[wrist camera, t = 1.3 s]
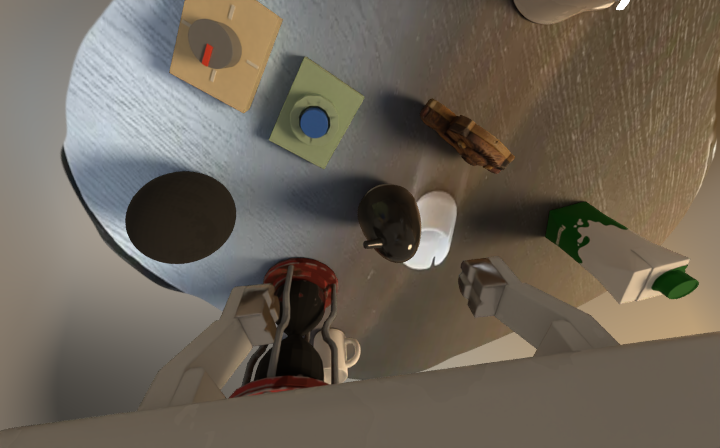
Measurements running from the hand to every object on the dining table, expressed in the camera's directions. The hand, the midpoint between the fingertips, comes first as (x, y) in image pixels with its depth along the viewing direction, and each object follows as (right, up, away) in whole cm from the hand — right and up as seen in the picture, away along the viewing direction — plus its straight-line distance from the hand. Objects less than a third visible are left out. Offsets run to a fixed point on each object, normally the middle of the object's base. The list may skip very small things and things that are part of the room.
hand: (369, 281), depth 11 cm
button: (-7, +16, +24) cm, 30 cm away
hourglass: (-13, -11, +46) cm, 49 cm away
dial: (-17, +23, +19) cm, 35 cm away
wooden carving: (+15, +17, +31) cm, 38 cm away
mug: (-7, -27, +57) cm, 64 cm away
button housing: (-7, +19, +27) cm, 34 cm away
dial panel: (-17, +25, +22) cm, 37 cm away
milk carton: (+42, +4, +43) cm, 60 cm away
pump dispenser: (+4, +7, +36) cm, 37 cm away
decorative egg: (-26, +8, +32) cm, 42 cm away
